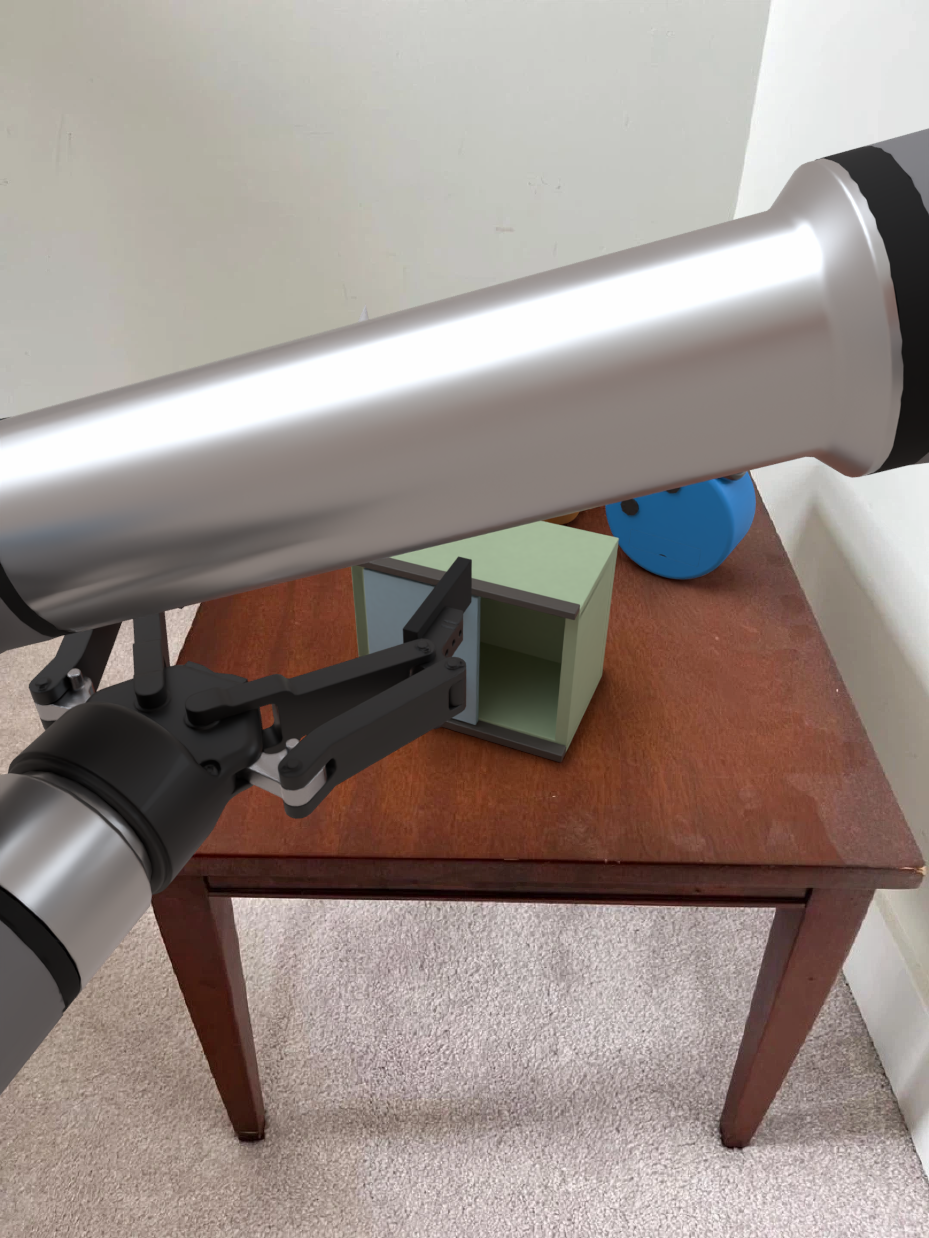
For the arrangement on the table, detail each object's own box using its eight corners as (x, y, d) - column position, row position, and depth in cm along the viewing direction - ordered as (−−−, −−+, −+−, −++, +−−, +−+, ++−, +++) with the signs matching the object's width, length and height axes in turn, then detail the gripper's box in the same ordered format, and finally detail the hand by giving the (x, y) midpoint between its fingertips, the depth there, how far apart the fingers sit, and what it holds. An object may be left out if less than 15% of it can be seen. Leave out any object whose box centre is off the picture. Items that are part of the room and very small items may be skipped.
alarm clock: (743, 571, 93) (774, 433, 84) (718, 602, 89) (748, 460, 80) (624, 531, 99) (641, 397, 90) (596, 557, 95) (611, 421, 86)
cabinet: (561, 763, 73) (575, 613, 64) (354, 700, 78) (341, 555, 69) (602, 675, 81) (619, 532, 72) (412, 624, 86) (407, 485, 78)
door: (448, 770, 71) (447, 641, 63) (340, 736, 73) (327, 608, 66) (478, 720, 75) (481, 593, 67) (375, 690, 78) (366, 565, 70)
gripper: (-126, 804, 42) (171, 557, 57) (380, 1013, 34) (564, 662, 49) (-199, 676, 37) (146, 445, 52) (367, 884, 29) (575, 542, 45)
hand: (349, 550), depth 51 cm, fingers open, 13 cm apart
